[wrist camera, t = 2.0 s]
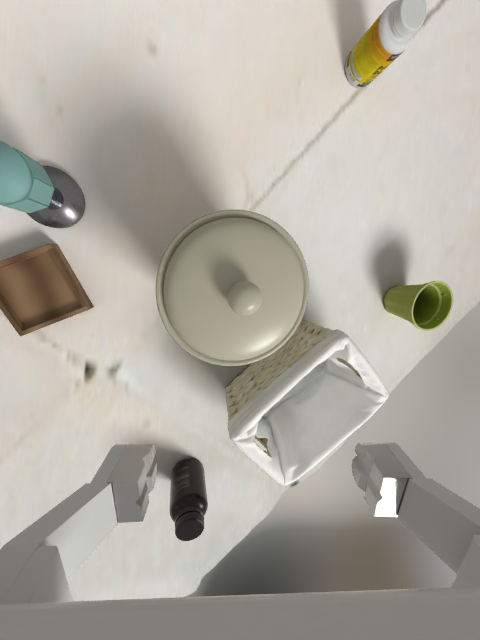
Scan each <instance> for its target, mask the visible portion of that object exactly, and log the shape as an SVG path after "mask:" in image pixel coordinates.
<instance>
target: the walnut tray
mask: <svg viewBox="0 0 480 640" xmlns="http://www.w3.org/2000/svg"><path fill="white" fill-rule="evenodd" d="M93 307H94V306H93V305H92V303H91V301H90V299H89V298H88V296H87V294H86V293H85V291H84V289H83V287H82V286H81V284H80V282H79V281H78V279H77V277H76V275H75V274H74V272H73V270H72V268H71V267H70V265H69V263H68V262H67V260H66V258H65V256H64V255H63V253H62V251H61V250H60V248H59V246H58V245H54V244H48V245H45V246H42V247H40V248H37V249H34V250H31V251H28V252H25V253H22V254H20V255H17V256H14V257H11V258H8V259H5V260H2V261H0V309H1V310H2V311H3V313H4V314H5V316H6V317H7V318H8V320H9V321H10V323H11V324H12V325H13V327H14V328H15V330H16V331H17V332H18V334H19V335H20V336H22V335H25V334H27V333H30V332H33V331H35V330H38V329H40V328H43V327H45V326H48V325H51V324H53V323H56V322H58V321H61V320H63V319H66V318H68V317H71V316H74V315H76V314H79V313H81V312H84V311H86V310H89V309H91V308H93Z"/></svg>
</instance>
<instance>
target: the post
mask: <svg viewBox="0 0 480 640" xmlns="http://www.w3.org/2000/svg"><path fill="white" fill-rule="evenodd" d="M42 167H44V169H45V171H46V173H47V175H48V176H49V178H50V180H51V182H52V184H53V186H54V187H52V188H54V192H53V195H52V198H51V201H50V205H49V206H48V207H47V208H44V209H41V210H38V211H35V212H32V213H27V214H28V215H29V216H30V217H31V218H32V219H34V220H35V221H37V222H38V223H41V224H43V225H45V226H49V227H53V228H67V227H70V226H73V225H74V224H76V223H77V222H78V221H79V220H80V219H81V218H82V216H83V214H84V210H85V199H84V195H83V193H82V190H81V189H80V187H79V186H78V184H77V183H76V182H75V181H74V180H73V179H72V178H71V177H70V176H68V175H67V174H66V173H64V172H62V171H61V170H59V169H56V168H53V167H50V166H42Z"/></svg>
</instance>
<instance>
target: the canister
mask: <svg viewBox="0 0 480 640" xmlns="http://www.w3.org/2000/svg"><path fill="white" fill-rule="evenodd" d="M308 294H309V278H308V271H307V267H306V263H305V260H304V257H303V255H302V253H301V251H300V249H299V247H298V245H297V244H296V242H295V241H294V239H293V238H292V237H291V236H290V235H289V233H288V232H287V231H286V230H285V229H283V228H282V227H281V226H280V225H279V224H277V223H276V222H274V221H273V220H271V219H269V218H267V217H265V216H263V215H260V214H258V213H254V212H250V211H245V210H223V211H218V212H214V213H210V214H208V215H205V216H203V217H201V218H199V219H197V220H195V221H193V222H192V223H190V224H189V225H188V226H186V227H185V228H184V229H183V230H182V231H181V232H180V233H179V234H178V235H177V236H176V237H175V238H174V239H173V241H172V242H171V243H170V245H169V246H168V248H167V250H166V251H165V253H164V255H163V258H162V260H161V263H160V266H159V269H158V273H157V279H156V300H157V306H158V310H159V314H160V317H161V319H162V321H163V324H164V326H165V328H166V329H167V331H168V332H169V334H170V335H171V337H172V338H173V339H174V340H175V342H176V343H177V344H178V345H179V346H180V347H182V348H183V349H184V350H185V351H186V352H188V353H189V354H191V355H192V356H194V357H196V358H198V359H200V360H202V361H205V362H208V363H211V364H216V365H222V366H240V365H246V364H250V363H253V362H256V361H259V360H261V359H264V358H266V357H267V356H269V355H271V354H272V353H274V352H275V351H277V350H278V349H279V348H280V347H282V346H283V345H284V344H285V343H286V342H287V341H288V340H289V338H290V337H291V336H292V335H293V333H294V332H295V331H296V329H297V327H298V326H299V324H300V322H301V320H302V317H303V315H304V312H305V309H306V305H307V301H308Z"/></svg>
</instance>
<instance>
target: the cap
mask: <svg viewBox="0 0 480 640" xmlns="http://www.w3.org/2000/svg"><path fill="white" fill-rule="evenodd" d="M52 187H54V186H53V184H52V182H51V180H50V178H49V176H48V175H47V173H46V171H45V169H44V167H42V166H41V165H40V164H38V163H37V162H35V161H34V160H32V159H31V158H29V157H28V156H26V155H25V154H23V153H22V152H20V151H18V150H16V149H14V148H12V147H10V146H9V145H7V144H6V143H4V142H2V141H0V204H1V205H3V206H6V207H9V208H13V209H16V210H19V211H23V212H26V213H32V212H35V211H38V210H41V209H44V208H47V207H48V206H49V205H50V201H51V198H52V195H53V192H54V188H52Z"/></svg>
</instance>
